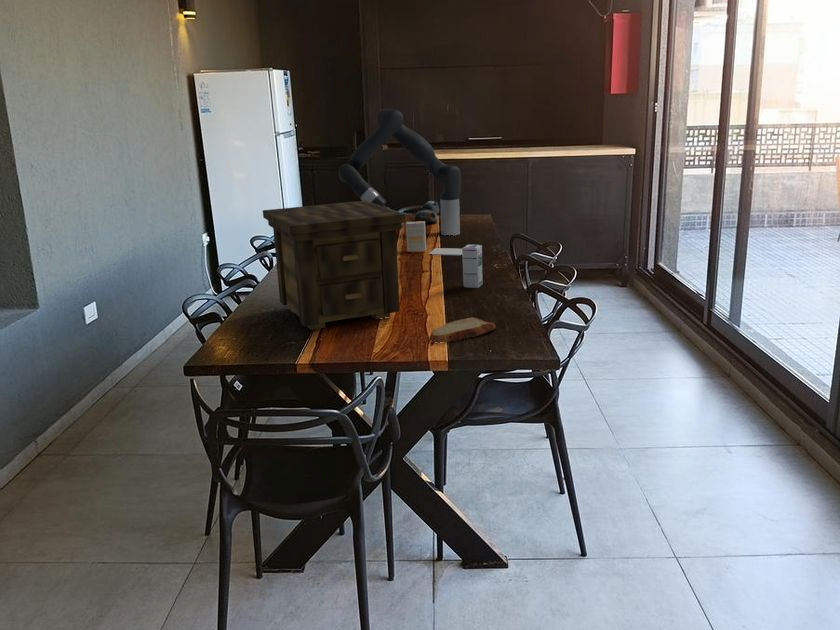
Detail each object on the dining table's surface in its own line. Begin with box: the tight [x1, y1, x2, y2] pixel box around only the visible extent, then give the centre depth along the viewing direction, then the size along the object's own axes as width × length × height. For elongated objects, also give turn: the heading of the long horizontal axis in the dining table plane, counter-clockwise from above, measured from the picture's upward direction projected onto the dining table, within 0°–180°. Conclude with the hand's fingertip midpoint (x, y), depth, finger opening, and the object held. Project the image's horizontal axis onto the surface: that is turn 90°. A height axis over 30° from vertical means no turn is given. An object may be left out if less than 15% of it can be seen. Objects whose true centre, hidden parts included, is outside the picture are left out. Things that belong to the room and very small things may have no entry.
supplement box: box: [405, 221, 427, 253], centre depth 320 cm, size 8×5×13 cm, turn 84°
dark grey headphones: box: [412, 200, 440, 224], centre depth 391 cm, size 15×12×14 cm
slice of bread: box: [429, 316, 497, 343], centre depth 210 cm, size 18×18×4 cm
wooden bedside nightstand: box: [262, 200, 407, 331], centre depth 230 cm, size 35×35×33 cm
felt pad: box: [428, 247, 462, 256], centre depth 318 cm, size 12×18×1 cm, turn 75°
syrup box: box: [461, 244, 484, 289], centre depth 260 cm, size 6×6×14 cm
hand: (401, 228), depth 321 cm, fingers closed
